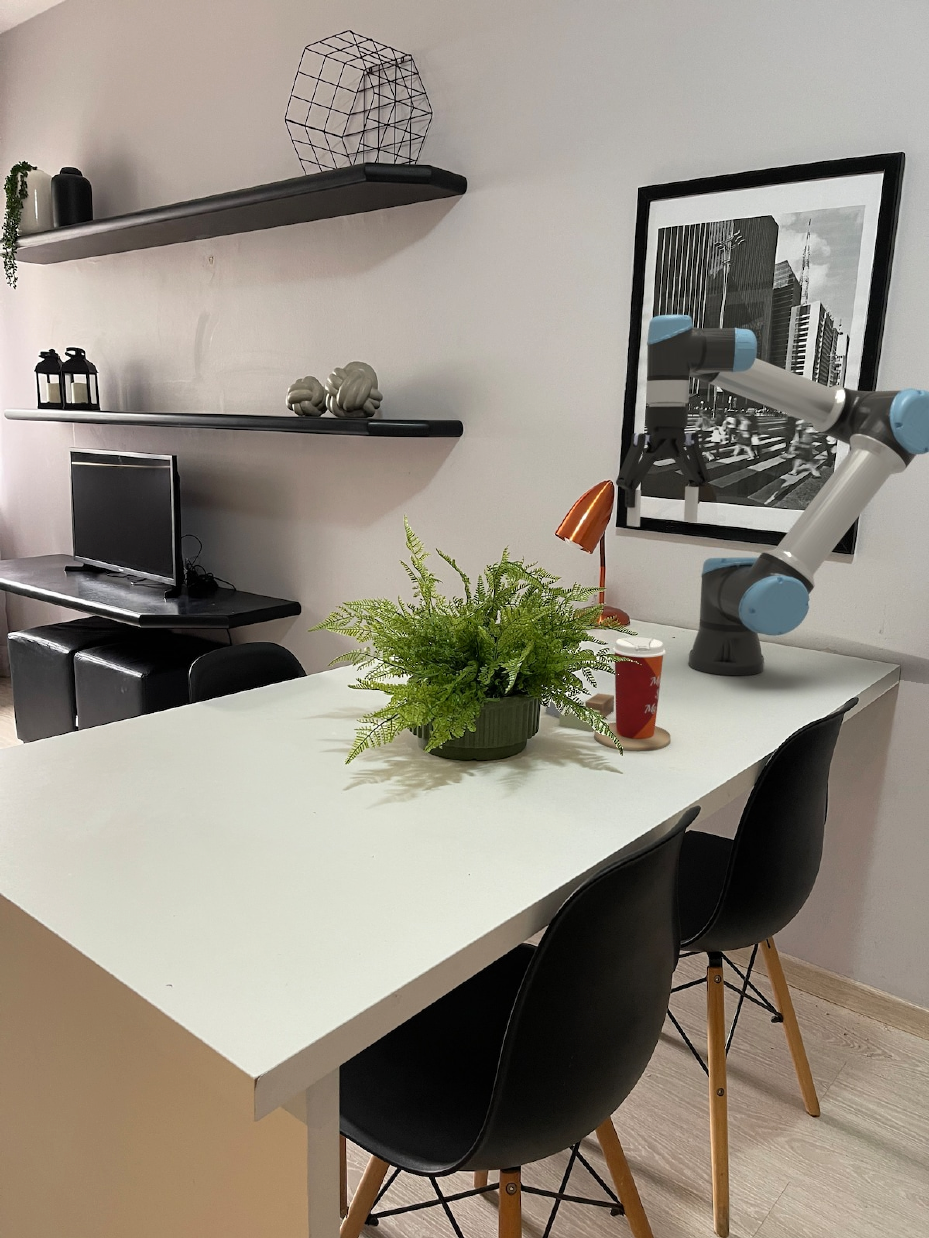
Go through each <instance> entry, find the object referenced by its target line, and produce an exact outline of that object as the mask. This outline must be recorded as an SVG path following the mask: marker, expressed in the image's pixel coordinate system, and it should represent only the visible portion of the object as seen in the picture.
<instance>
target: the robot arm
mask: <svg viewBox="0 0 929 1238" xmlns="http://www.w3.org/2000/svg"><path fill="white" fill-rule="evenodd" d="M647 331H648V332H647V342H646V346H647V353H646V354H647V359H646V366H647V367H646V368H647V369H646V385H645V386H646V387H645V388H646V392H645V403H646V404H648V407H646V408H645V415H644V427H645V428H646V434H645V433H637V432H635V433H634V432H633V433H632V435H631V440H630V447H629V449H628V452H627V454H626V457H625V458H624V461H623V464H622V467H620V471H619V472H618V476H617V478H616V480H615V485H616V486H618V487H620V488H621V489H623V490H624V492H625V493H624V507H625V508H627V509H626V510H627V513H626V516H627V517H626V526H628V527H637V528H638V527H639V528H640V527H641V505H642V504H641V498H642V490H641V489H638V488H639V486H640V484H641V483H642V482H643V480H644V479H645V477H646V476H647V474H648V473H649V471H650V470H651V468H652V467H653V465H654V464H655V463H656V461H658V460H659V459H672V461H673V460H674V462H675V464H676V465H677V468H678V469H679V470H680V471H681V473H682V475H683V476H684V478H685V480H686V482H687V483H688V485H689V486H687V485H686V486H685V487H684V510H683V511H684V512H683V513H684V514H683V522H688V523H697V522H698V506H699V505H700V502H701V491H702V490H701V488H703V487H705V486H706V484H708V483H710V481H711V477H710V474H709V470H708V467H707V465H706V462H705V458H704V456H703V452H702V450H701V447H700V434H699V432H685V429H686V428H687V427H688V424H689V423H688V419H689V408H688V406H686V404H688V403H689V400H690V399H689V398H690V397H689V395H690V377H691V378H693V379H697V380H698V381H702V382H704V383H707V384H710V385H712V386H714V387H717V388H721V389H722V390H725V391H727V392H730V393H733V394H735V395H737V396H741V397H743V398H746V399H747V400H748V399H749V400H751V401H754V402H755V403H756V402H757V403H758V404H761V405H763V406H766V407H768V408H772V409H775V410H777V411H779V412H782V413H784V414H787V415H789V416H792V417H794V418H797V419H800V420H802V421H804V422H807V423H810V424H812V426H813V429H814V430H815V431H816V432H818V433H821V434H824V435H826V436H829V437H831V438H833V439H835V440H837V441H840V442H843V443H844V444H846V445H848V446H850V448H851V449H850V450H849V452H848V453H847V455H846V456H845V457H844V458H843V460H842V461H841V463H840V464H839V465H838V466H837V468H836V469H835V470H834V471H833V473H832V474H831V475H830V477H829V478H828V479H827V481H826V482H825V484H823V486H822V487H821V488H820V490H819V491H818V492H817V493H816V494H815V497H814V498H813V499H812V500H811V501H810V503H809V504H808V506H806V508H805V510H803V512H802V513H801V514H800V516H799V517H798V519H797V520H796V521H795V523H794V524H793V525H792V526H791V528H789V530H788V532H787V533H786V534H785V536H784V537H783V538H782V539H781V541H780V542H779V544H778V545H777V547H775V548H774V549H771V550H764V551H762V552H761V553H760V555H759V556H758V557H757V556H756V557H753V556H752V557H751V556H750V557H747V556H746V557H744V556H743V557H710V558H707V559H705V561H704V562H703V566H702V572H701V574H700V575H701V576H700V577H701V587H700V588H701V589H700V590H701V591H700V606H699V607H700V608H699V626H698V630H697V633H696V636H695V639H694V642H693V645H692V649H691V650H690V651H689V653H688V666H689V667H690V668H692V669H694V670H697V671H700V672H703V673H709V674H715V675H720V676H721V675H724V676H747V675H748V676H749V675H755V674H759V673H762V672H763V671H764V669H765V668H764V667H765V666H764V665H765V657H764V654H762V648H761V642H760V638H759V635H758V634H760V635H766V636H775V637H776V636H781V635H785V634H788V633H791V632H792V631H795V629H797V628H798V627H799V626H800V625H801V623H802V622H803V621H804V620H805V618H806V616H807V615H808V612H809V609H810V605H809V602H810V594H811V592H812V591H813V590H814V588H815V580H814V579H815V578H814V575H815V574H816V572H817V571H818V570H819V568H820V567H821V566H822V564H823V563H824V562H825V561H826V559H827V558H828V556H830V554H831V553H832V552H833V550H834V549H835V548H836V546H837V544H839V543H840V541H841V540H842V538H843V537H844V536H845V535H846V533H847V532H848V531H849V529H850V528H851V527H852V525H853V524H854V523H855V521H856V520H857V519H858V518H859V517H860V515H861V514H862V513H863V511H864V510H865V508H867V506H868V504H869V503H870V502H871V501H872V499H874V497H875V495H876V494H877V493H878V492H879V491H880V489H881V488H882V486H883V485H884V484H885V483H886V482H887V480H888V478H890V476H892V475H894V474H895V475H896V474H899V473H903V472H905V470H906V469H907V467H908V466H909V465H910V463H912V461H913V460H914V458H915V457H916V456H917V455H925V454H927V453H929V391H928V390H925V389H924V390H923V389H917V388H916V389H915V388H912V387H911V388H905V389H901V390H877V391H876V390H875V391H874V390H873V391H870V390H869V391H868V390H867V391H864V390H856V389H849V388H847V387H844V386H841V385H839V384H836V385H832V386H830V387H829V386H827V385H824V384H822V383H819V382H818V381H814V380H813V379H810V378H808V377H804V376H802V375H800V374H797V373H794V372H792V371H789V370H787V369H784V368H782V367H779V366H776V365H774V364H772V363H769V362H767V361H764V360H762V359H759V358H757V354H758V342H757V341H758V340H757V338H756V335H755V333H754V332H753V330H751V329H748V328H747V329H746V328H737V327H734V328H732V327H730V328H726V327H725V328H723V327H722V328H714V327H713V328H712V327H711V328H708V327H707V328H706V327H705V328H703V327H702V328H700V327H694V325H693V320H692V317H691V316H690V315H686V314H685V315H683V314H663V315H662V314H661V315H657V316H654V317H653V318H651V319H650V321H649V324H648V330H647ZM645 446H646V448H645ZM684 446H685V447H684Z"/></svg>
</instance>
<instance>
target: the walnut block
mask: <svg viewBox="0 0 929 1238" xmlns="http://www.w3.org/2000/svg"><path fill="white" fill-rule="evenodd" d="M584 704H585V706H586V707H588V708H592V709H593V710H598V711H600V714H601V715H603V717H605V718H606V717H608V716H609V715H611V714H612V713H613V712H614V707H615V695H612V694H605V693H600V692H598V693H596V694H595V695H594V696H592V697H591V698H589V699H588V700H586V701H585V703H584ZM585 706H584V707H585ZM611 712H612V713H611Z"/></svg>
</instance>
